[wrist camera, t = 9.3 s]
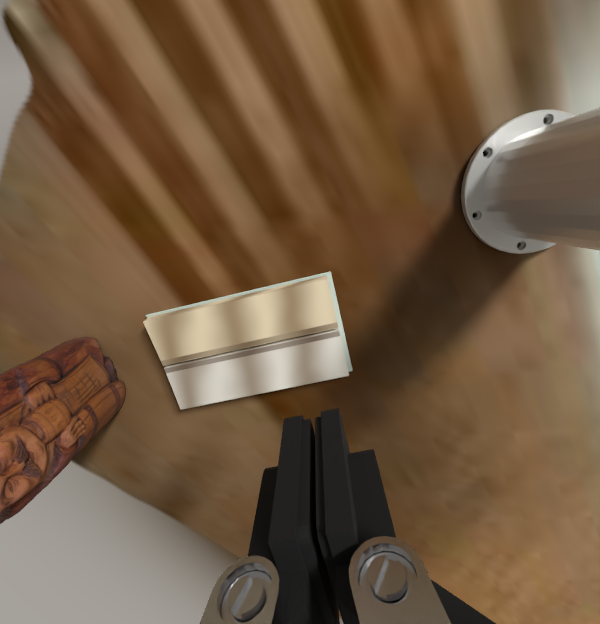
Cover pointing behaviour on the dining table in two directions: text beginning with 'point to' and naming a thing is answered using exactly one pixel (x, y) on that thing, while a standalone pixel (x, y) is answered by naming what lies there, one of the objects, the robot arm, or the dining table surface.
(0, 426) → the wooden figurine
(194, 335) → the plank
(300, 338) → the laid board
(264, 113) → the dining table surface
